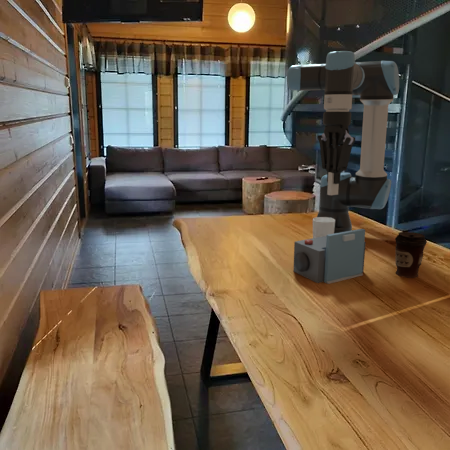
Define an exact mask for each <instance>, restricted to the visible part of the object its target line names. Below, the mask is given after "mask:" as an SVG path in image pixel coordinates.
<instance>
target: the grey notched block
mask: <svg viewBox="0 0 450 450" xmlns="http://www.w3.org/2000/svg"><path fill="white" fill-rule="evenodd" d="M326 239H327V236H323V237H317V238H313V237H312V238H307V239H301V240H297V241H294V242H293V243H294V245H293V246H294V247H293V250H294V251H293V270H292V271H293V273H296V274H298V275H300V276H302V277H304V278H305V279H308V280H310V281H312V282H314V283H316V284H319V283H325V282H324V276H325V257H326ZM366 245H367V243H366V241H364V253H363V266H362V273H364V271H365V270H364V268H365V257H366V256H365V255H366Z"/></svg>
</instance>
